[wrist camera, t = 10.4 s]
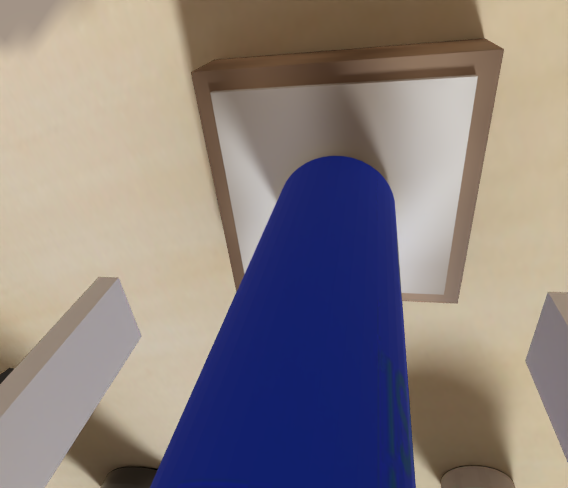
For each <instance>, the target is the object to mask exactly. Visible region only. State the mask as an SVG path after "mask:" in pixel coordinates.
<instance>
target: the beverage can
mask: <svg viewBox="0 0 568 488" xmlns="http://www.w3.org/2000/svg"><path fill="white" fill-rule="evenodd" d="M150 488H416V485H415V471H414V457H413V443H412V430H411V416H410V402H409V389H408V375H407V361H406V348H405V334H404V320H403V307H402V293H401V279H400V265H399V252H398V238H397V224H396V211H395V200H394V196H393V193H392V190H391V188H390V186H389V184H388V183H387V181H386V180H385V178H384V177H383V176H382V175H381V174H380V173H379V172H378V171H377V170H376V169H374V168H373V167H372V166H370V165H368V164H366V163H364V162H363V161H360V160H357V159H354V158H351V157H345V156H326V157H321V158H317V159H314V160H311V161H309V162H307V163H305V164H304V165H302V166H301V167H299V168H298V169H297V170H296V171H294V172H293V173H292V174H291V176H290V177H289V178H288V180H287V181H286V183H285V185H284V187H283V189H282V191H281V193H280V196H279V198H278V200H277V202H276V205H275V207H274V209H273V211H272V214H271V216H270V218H269V220H268V223H267V225H266V227H265V229H264V232H263V234H262V236H261V238H260V241H259V243H258V245H257V247H256V250H255V252H254V254H253V256H252V259H251V261H250V263H249V265H248V268H247V270H246V272H245V274H244V277H243V279H242V281H241V283H240V286H239V288H238V290H237V292H236V295H235V297H234V299H233V301H232V304H231V306H230V308H229V310H228V313H227V315H226V317H225V319H224V322H223V324H222V326H221V328H220V331H219V333H218V335H217V337H216V340H215V342H214V344H213V346H212V349H211V351H210V353H209V355H208V358H207V360H206V362H205V364H204V367H203V369H202V371H201V373H200V376H199V378H198V380H197V382H196V385H195V387H194V389H193V391H192V394H191V396H190V398H189V400H188V403H187V405H186V407H185V409H184V412H183V414H182V416H181V418H180V421H179V423H178V425H177V427H176V430H175V432H174V434H173V436H172V439H171V441H170V443H169V445H168V448H167V450H166V452H165V454H164V457H163V459H162V461H161V463H160V466H159V468H158V470H157V472H156V475H155V477H154V479H153V481H152V484H151V486H150Z"/></svg>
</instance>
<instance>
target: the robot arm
mask: <svg viewBox="0 0 568 488" xmlns="http://www.w3.org/2000/svg"><path fill="white" fill-rule="evenodd" d="M140 338H141V333H140V331H139V328H138V326H137V323H136V321H135V318H134V316H133V313H132V310H131V308H130V305H129V303H128V300H127V298H126V295H125V293H124V290H123V287H122V285H121V282H120V280H119V278H114V277H98V278H97V279H96V280H95V281H94V283H93V284H92V285H91V286H90V287H89V288H88V289H87V290H86V291H85V292H84V293H83V295H82V296H81V297H80V298H79V299H78V300H77V301H76V302H75V303H74V304H73V305H72V307H71V308H70V309H69V310H68V311H67V312H66V313H65V314H64V315H63V316H62V317H61V319H60V320H59V321H58V322H57V323H56V324H55V325H54V326H53V327H52V328H51V329H50V331H49V332H48V333H47V334H46V335H45V336H44V337H43V338H42V339H41V340H40V341H39V343H38V344H37V345H36V346H35V347H34V348H33V349H32V350H31V351H30V352H29V354H28V355H27V356H26V357H25V358H24V359H23V360H22V361H21V362H20V363H19V364H18V366H17V367H16V368H15V369H13V368H9V369H7V370H6V371H5V372H3V373H2V374H0V488H45V487H46V485H47V483H48V482H49V480H50V479H51V477H52V476H53V474H54V472H55V471H56V469H57V468H58V466H59V465H60V463H61V461H62V460H63V458H64V457H65V455H66V454H67V452H68V451H69V449H70V447H71V446H72V444H73V443H74V441H75V440H76V438H77V436H78V435H79V433H80V432H81V430H82V429H83V427H84V426H85V424H86V422H87V421H88V419H89V418H90V416H91V415H92V413H93V411H94V410H95V408H96V407H97V405H98V404H99V402H100V401H101V399H102V397H103V396H104V394H105V393H106V391H107V390H108V388H109V386H110V385H111V383H112V382H113V380H114V379H115V377H116V376H117V374H118V372H119V371H120V369H121V368H122V366H123V365H124V363H125V361H126V360H127V358H128V357H129V355H130V354H131V352H132V350H133V349H134V347H135V346H136V344H137V343H138V341H139V340H140ZM525 361H526V364H527V366H528V368H529V371H530V373H531V376H532V378H533V380H534V383H535V385H536V388H537V390H538V392H539V395H540V397H541V399H542V402H543V404H544V407H545V409H546V411H547V414H548V416H549V419H550V421H551V423H552V426H553V428H554V431H555V433H556V435H557V438H558V440H559V442H560V445H561V447H562V450H563V452H564V454H565V457H566V459H567V462H568V293H566V292H548V293H547V296H546V299H545V302H544V305H543V309H542V312H541V315H540V318H539V321H538V324H537V327H536V330H535V333H534V336H533V339H532V342H531V345H530V348H529V351H528V354H527V357H526V360H525ZM156 472H157V470H153V469H147V468H138V467H127V468H120V469H116V470H114V471H112V472H110V473H109V474H108V475H107V477H106V478H105V480H104V482H103V484H102V486H101V488H150V486H151V484H152V481H153V479H154V477H155V475H156Z"/></svg>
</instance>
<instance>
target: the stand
mask: <svg viewBox="0 0 568 488" xmlns="http://www.w3.org/2000/svg"><path fill="white" fill-rule="evenodd" d="M503 52H504V49H503V48H501V47H499V46H497V45H495V44H494V43H492V42H490V41H488V40H487V39H472V40H460V41H447V42H434V43H422V44H409V45H397V46H384V47H371V48H359V49H346V50H333V51H321V52H308V53H295V54H283V55H270V56H257V57H245V58H232V59H219V60H213V61H211V62H209V63H208V64H206V65H204V66H202V67H200V68H198V69H196V70H194V71H192V72H191V75H192V80H193V84H194V89H195V94H196V99H197V104H198V108H199V113H200V118H201V123H202V128H203V133H204V137H205V142H206V147H207V152H208V157H209V161H210V166H211V171H212V176H213V181H214V185H215V190H216V195H217V200H218V205H219V210H220V214H221V219H222V224H223V229H224V234H225V238H226V243H227V248H228V253H229V258H230V263H231V267H232V272H233V277H234V282H235V287H236V291H237V290H238V288H239V286H240V283H241V281H242V279H243V277H244V274H245V272H246V270H247V268H248V265H249V263H250V261H251V259H252V256H253V254H254V252H255V250H256V247H257V245H258V243H259V241H260V238H261V236H262V234H263V232H264V229H265V227H266V225H267V223H268V220H269V218H270V216H271V214H272V211H273V209H274V207H275V205H276V202H277V200H278V198H279V196H280V193H281V191H282V189H283V187H284V185H285V183H286V181H287V180H288V178H289V177H290V176H291V174H292V173H293V172H294V171H296V170H297V169H298V168H299V167H301V166H302V165H304V164H305V163H307V162H309V161H311V160H314V159H317V158H321V157H326V156H345V157H351V158H354V159H357V160H360V161H363V162H364V163H366V164H368V165H370V166H372V167H373V168H374V169H376V170H377V171H378V172H379V173H380V174H381V175H382V176H383V177H384V178H385V180H386V181H387V183H388V184H389V186H390V188H391V190H392V193H393V196H394V200H395V211H396V224H397V238H398V252H399V265H400V279H401V293H402V301H415V302H436V303H457V304H458V298H459V293H460V287H461V282H462V276H463V271H464V265H465V260H466V254H467V249H468V243H469V238H470V233H471V227H472V222H473V216H474V211H475V205H476V200H477V194H478V189H479V183H480V178H481V172H482V167H483V161H484V156H485V151H486V145H487V140H488V134H489V129H490V123H491V118H492V112H493V107H494V101H495V96H496V90H497V85H498V79H499V74H500V68H501V63H502V58H503Z"/></svg>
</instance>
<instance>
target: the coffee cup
mask: <svg viewBox="0 0 568 488" xmlns="http://www.w3.org/2000/svg"><path fill="white" fill-rule="evenodd" d="M441 488H515V485H514V483H513V481H512V480H511V478H510V477H508V476H507V475H506V474H504V473H503V472H500V471H498V470H495V469H492V468H488V467H482V466H464V467H459V468H455V469H452V470H450V471H448V472H447V473H446V474H445V475H444V476H443V477H442V479H441Z"/></svg>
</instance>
